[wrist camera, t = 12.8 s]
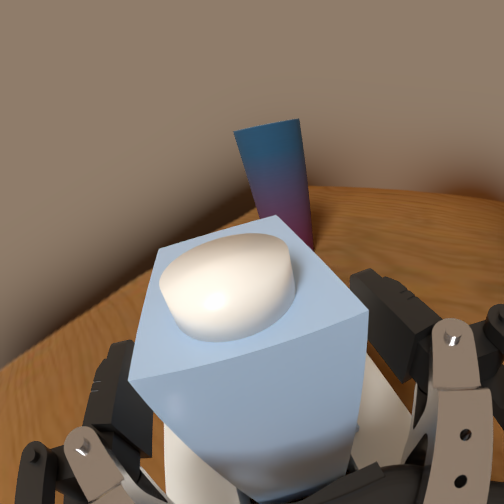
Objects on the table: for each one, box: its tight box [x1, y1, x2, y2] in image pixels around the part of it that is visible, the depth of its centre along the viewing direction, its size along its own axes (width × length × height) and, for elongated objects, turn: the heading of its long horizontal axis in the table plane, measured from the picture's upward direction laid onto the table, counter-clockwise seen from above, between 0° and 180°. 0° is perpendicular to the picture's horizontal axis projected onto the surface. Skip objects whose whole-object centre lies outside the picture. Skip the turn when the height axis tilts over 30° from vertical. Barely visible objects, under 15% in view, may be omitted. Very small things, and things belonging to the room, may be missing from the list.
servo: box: [128, 215, 369, 504], centre depth 9 cm, size 6×7×13 cm
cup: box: [233, 119, 314, 252], centre depth 29 cm, size 7×7×15 cm
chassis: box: [164, 353, 412, 504], centre depth 13 cm, size 16×12×3 cm
